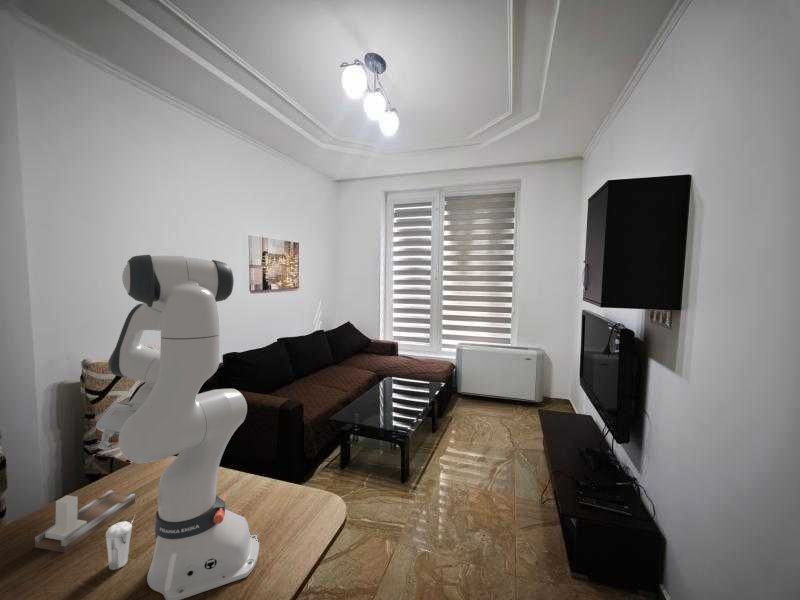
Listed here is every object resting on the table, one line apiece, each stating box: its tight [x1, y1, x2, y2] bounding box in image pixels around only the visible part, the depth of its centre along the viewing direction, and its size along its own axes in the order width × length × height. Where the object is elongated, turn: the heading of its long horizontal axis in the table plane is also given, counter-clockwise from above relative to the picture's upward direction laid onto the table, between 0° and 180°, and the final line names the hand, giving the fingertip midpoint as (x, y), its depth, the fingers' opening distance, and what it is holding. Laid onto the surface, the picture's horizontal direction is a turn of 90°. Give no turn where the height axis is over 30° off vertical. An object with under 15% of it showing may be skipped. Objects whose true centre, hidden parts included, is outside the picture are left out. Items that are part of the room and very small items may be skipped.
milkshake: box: [105, 513, 137, 571], centre depth 76 cm, size 4×5×10 cm
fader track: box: [34, 489, 136, 554], centre depth 87 cm, size 18×8×3 cm, turn 173°
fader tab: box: [45, 494, 87, 541], centre depth 81 cm, size 5×5×8 cm
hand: (116, 450), depth 93 cm, fingers open, 8 cm apart
